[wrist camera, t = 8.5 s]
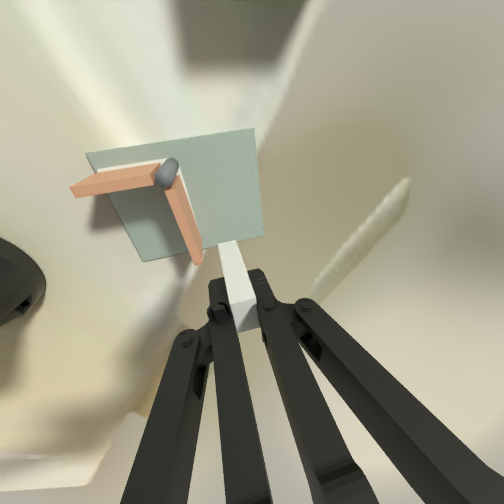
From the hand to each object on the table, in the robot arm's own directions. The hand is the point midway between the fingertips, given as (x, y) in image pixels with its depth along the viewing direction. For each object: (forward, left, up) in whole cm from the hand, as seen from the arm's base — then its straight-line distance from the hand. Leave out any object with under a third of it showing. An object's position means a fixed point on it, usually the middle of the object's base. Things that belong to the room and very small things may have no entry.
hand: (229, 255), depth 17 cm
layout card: (-3, +1, -14) cm, 14 cm away
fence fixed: (-8, +6, -14) cm, 17 cm away
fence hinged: (-4, 0, -13) cm, 14 cm away
